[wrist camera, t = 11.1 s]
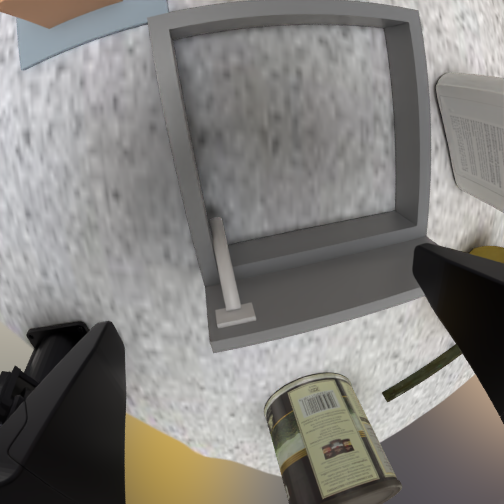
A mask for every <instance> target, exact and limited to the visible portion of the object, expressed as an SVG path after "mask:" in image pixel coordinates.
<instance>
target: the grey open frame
mask: <svg viewBox="0 0 504 504" xmlns="http://www.w3.org/2000/svg"><path fill="white" fill-rule="evenodd" d="M147 21H148V28H149V34H150V41H151V47H152V53H153V59H154V64H155V70H156V76H157V81H158V87H159V92H160V97H161V102H162V108H163V113H164V118H165V123H166V127H167V132H168V137H169V142H170V146H171V151H172V156H173V160H174V165H175V169H176V174H177V178H178V182H179V187H180V191H181V195H182V199H183V204H184V208H185V212H186V216H187V220H188V224H189V228H190V232H191V236H192V240H193V244H194V248H195V252H196V255H197V259H198V263H199V267H200V270H201V274H202V278H203V281H204V285H205V293H206V305H207V317H208V328H209V339H210V344H211V347H212V350H213V353H217V352H222V351H227V350H232V349H237V348H241V347H246V346H250V345H255V344H259V343H264V342H268V341H272V340H277V339H281V338H285V337H289V336H293V335H297V334H301V333H305V332H308V331H312V330H316V329H320V328H323V327H327V326H331V325H334V324H338V323H341V322H345V321H348V320H352V319H355V318H359V317H362V316H365V315H368V314H372V313H375V312H378V311H381V310H384V309H388V308H391V307H394V306H397V305H400V304H403V303H406V302H409V301H412V300H415V299H418V298H420V297H423V296H425V294H424V293H423V291H422V289H421V288H420V286H419V284H418V283H417V281H416V279H415V278H414V275H413V272H412V266H413V256H414V249H415V247H416V246H417V245H420V244H423V243H431V244H435V245H437V244H436V243H435V242H433V241H432V240H431V239H429V238H428V237H427V236H426V234H427V224H428V212H429V198H430V178H431V117H430V98H429V84H428V73H427V64H426V55H425V48H424V41H423V34H422V28H421V22H420V17H419V11H418V10H413V9H408V8H403V7H397V6H391V5H384V4H377V3H369V2H360V1H349V0H250V1H239V2H229V3H221V4H214V5H207V6H201V7H195V8H189V9H184V10H179V11H174V12H169V13H165V14H160V15H156V16H152V17H148V18H147ZM301 24H332V25H356V26H370V27H380V28H384V30H385V36H386V43H387V50H388V57H389V65H390V74H391V83H392V94H393V107H394V123H395V146H396V204H395V211H392V212H387V213H382V214H377V215H372V216H367V217H362V218H357V219H352V220H347V221H342V222H337V223H332V224H327V225H322V226H317V227H313V228H308V229H303V230H298V231H293V232H288V233H283V234H279V235H274V236H269V237H264V238H259V239H255V240H250V241H245V242H240V243H236V244H231V245H228V244H227V240H226V235H225V230H224V226H223V221H222V218H220V217H214V218H212V219H210V220H209V222H208V217H207V213H206V208H205V204H204V199H203V194H202V190H201V185H200V180H199V176H198V171H197V166H196V161H195V156H194V151H193V146H192V141H191V136H190V131H189V126H188V121H187V116H186V110H185V105H184V100H183V94H182V89H181V83H180V78H179V72H178V66H177V61H176V55H175V49H174V43H173V40H175V39H179V38H184V37H189V36H195V35H200V34H206V33H212V32H219V31H226V30H233V29H242V28H251V27H263V26H277V25H301ZM209 224H210V226H209ZM210 230H211V231H210Z"/></svg>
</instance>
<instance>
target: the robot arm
mask: <svg viewBox="0 0 504 504" xmlns="http://www.w3.org/2000/svg"><path fill="white" fill-rule="evenodd" d="M412 272H413V275H414V278H415V279H416V281H417V283H418V284H419V286H420V288H421V289H422V291H423V293H424V294H425V296H426V298H427V300H428V301H429V303H430V305H431V307H432V308H433V310H434V312H435V313H436V315H437V316H438V318H439V319H440V321H441V322H442V324H443V325H444V327H445V328H446V329H447V331H448V332H449V334H450V335H451V337H452V338H453V340H454V341H455V343H456V344H457V346H458V347H459V349H460V350H461V352H462V354H463V355H464V357H465V358H466V360H467V361H468V363H469V365H470V366H471V368H472V369H473V371H474V373H475V374H476V375H477V377H478V379H479V381H480V383H481V384H482V386H483V388H484V389H485V391H486V392H487V394H488V396H489V398H490V400H491V401H492V403H493V405H494V407H495V409H496V410H497V412H498V414H499V416H501V417H500V418H501V420H502V422H503V424H504V263H500V262H497V261H494V260H490V259H487V258H483V257H479V256H476V255H472V254H469V253H465V252H461V251H458V250H454V249H450V248H446V247H442V246H439V245H435V244H431V243H423V244H420V245H417V246H416V247H415V249H414V256H413V266H412ZM79 327H80V328H82V329H80V328H79ZM27 338H28V339H29V341H30V342H31V344H32V345H33V347H34V351H33V353H32V355H31V357H30V360H29V362H28V364H27V367H26V369H25V371H24V372H22V371H21V369H19V368H18V367H17V366H15V367H14V369H13V370H12V372H5V371H2V372H1V375H0V504H126V503H125V467H124V465H125V464H124V462H125V460H124V459H125V458H124V457H125V450H124V449H125V415H126V374H125V348H124V344H123V341H122V340H121V338H120V336H119V334H118V332H117V330H116V328H115V327H114V325H113V323H112V322H110V321H105V322H100V323H97V324H96V325H95V326H94V327H93V328H92V329H91V330H90V331H89V330H88V328H87V326H86V325H85V324H84V323H82V322H75V323H69V324H63V325H57V326H51V327H45V328H38V329H32V330H29V331H28V333H27Z"/></svg>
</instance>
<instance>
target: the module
mask: <svg viewBox="0 0 504 504" xmlns="http://www.w3.org/2000/svg"><path fill="white" fill-rule="evenodd" d="M122 1H123V0H0V12H3V13H6V14H9V15H12V16H15V17H18V18H21V19H24V20H27V21H29V22H32V23H35V24H37V25H40V26H43V27H45V28H48V29H50V28H52V27H55V26H57V25H59V24H61V23H64V22H66V21H69V20H71V19H73V18H76V17H78V16H81V15H84V14H86V13H89V12H92V11H94V10H97V9H100V8H103V7H106V6H109V5H112V4H115V3H118V2H122Z"/></svg>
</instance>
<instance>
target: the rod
mask: <svg viewBox="0 0 504 504" xmlns="http://www.w3.org/2000/svg"><path fill="white" fill-rule="evenodd" d="M461 354H462V352H461V350H460V349H459V347H458V346H457V344H456V345H454V346H453V347H452V348H450V349H449V350H447V351H446V352H445V353H443V354H442V355H440V356H439V357H438V358H436V359H435V360H433V361H432V362H430V363H429V364H427V365H426V366H424V367H423V368H421V369H420V370H418V371H417V372H415V373H414V374H412V375H410V376H409V377H407V378H406V379H404V380H402V381H401V382H399V383H398V384H396V385H394V386H393V387H391V388H389V389H388V390H386V391H384V392H382V394H383V396H384V397H385V399H386V401H387V402H389V401H391V400H393V399H395V398H396V397H398V396H400V395H401V394H403V393H405V392H406V391H408V390H410V389H411V388H413V387H414V386H416V385H418V384H419V383H421V382H422V381H424V380H425V379H427V378H429V377H430V376H432V375H433V374H434V373H436V372H437V371H439V370H440V369H442V368H443V367H445V366H446V365H447V364H449V363H450V362H452V361H453V360H454V359H456V358H457V357H458V356H460V355H461Z"/></svg>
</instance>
